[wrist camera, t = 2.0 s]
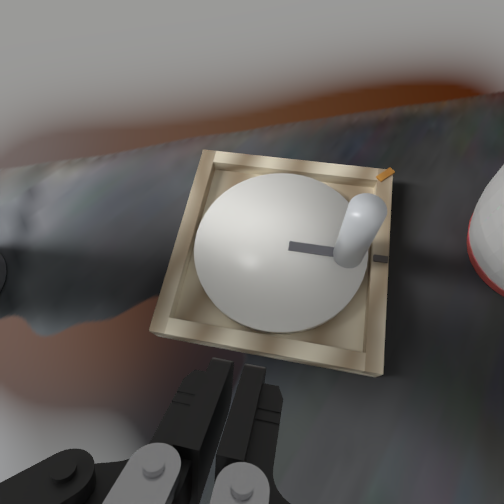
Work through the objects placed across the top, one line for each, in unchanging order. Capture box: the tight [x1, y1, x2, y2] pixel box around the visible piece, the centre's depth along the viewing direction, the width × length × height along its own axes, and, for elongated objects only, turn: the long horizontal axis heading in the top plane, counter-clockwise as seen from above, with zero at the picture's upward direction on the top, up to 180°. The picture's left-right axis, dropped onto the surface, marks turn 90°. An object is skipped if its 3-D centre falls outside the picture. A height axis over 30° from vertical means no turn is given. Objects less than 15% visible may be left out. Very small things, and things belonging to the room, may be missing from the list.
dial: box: [194, 173, 387, 334], centre depth 34 cm, size 18×18×10 cm
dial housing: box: [149, 150, 395, 377], centre depth 39 cm, size 22×22×3 cm
